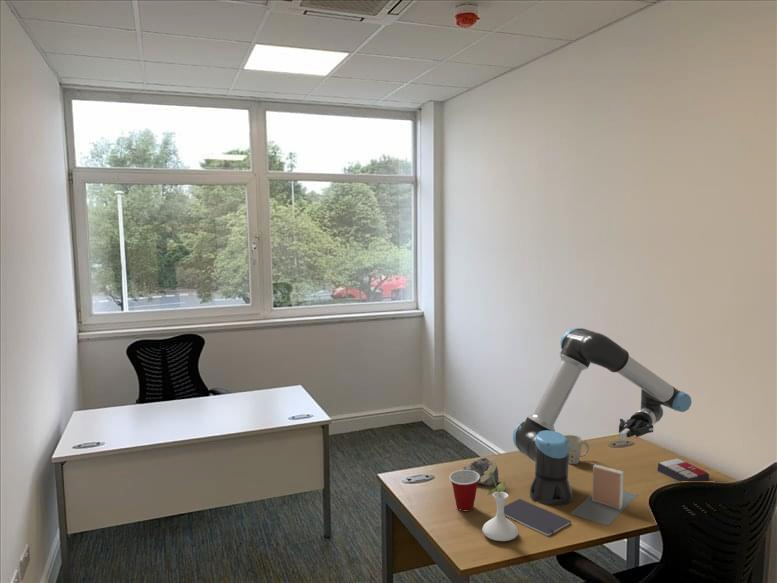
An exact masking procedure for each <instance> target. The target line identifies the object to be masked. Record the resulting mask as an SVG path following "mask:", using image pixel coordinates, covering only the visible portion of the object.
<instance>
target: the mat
mask: <svg viewBox="0 0 777 583" xmlns="http://www.w3.org/2000/svg"><path fill="white" fill-rule="evenodd" d="M637 496H638V494H637V493H633V492H629V491H625V490H623V499H622V508H621V509H618V508H615V507H612V506H609V505H605V504H602V503H599V502H595V501H592V494H590V495H589V496H588V497H587V498H586V499H584V501H582V503H580V504H579V505H578V506H577V507H576V508H575V509H573V510H572V511H571V512H570V514H571V515H574V516H577V517H580V518H583V519H587V520H589V521H592V522H595V523H598V524H602V525H604V526H607V527H609V525H610V524H612V522H613V521H614V520H615V519H616V518H617V517H618V516H619V515H620V514H621V513H622V512H623V511H624V510H625V508H627V507H628V506H629V504H631V502H632V501H633V500H635V498H636V497H637Z"/></svg>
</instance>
